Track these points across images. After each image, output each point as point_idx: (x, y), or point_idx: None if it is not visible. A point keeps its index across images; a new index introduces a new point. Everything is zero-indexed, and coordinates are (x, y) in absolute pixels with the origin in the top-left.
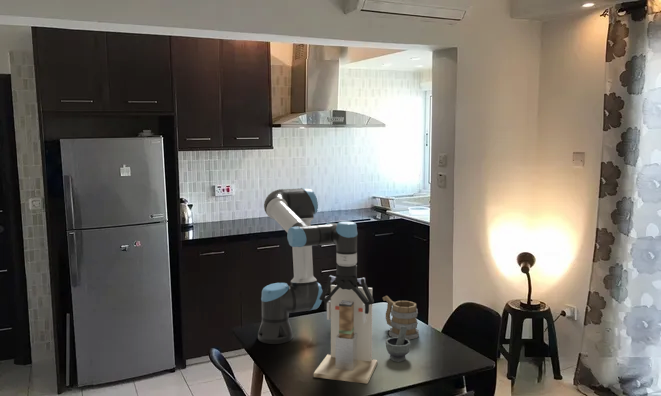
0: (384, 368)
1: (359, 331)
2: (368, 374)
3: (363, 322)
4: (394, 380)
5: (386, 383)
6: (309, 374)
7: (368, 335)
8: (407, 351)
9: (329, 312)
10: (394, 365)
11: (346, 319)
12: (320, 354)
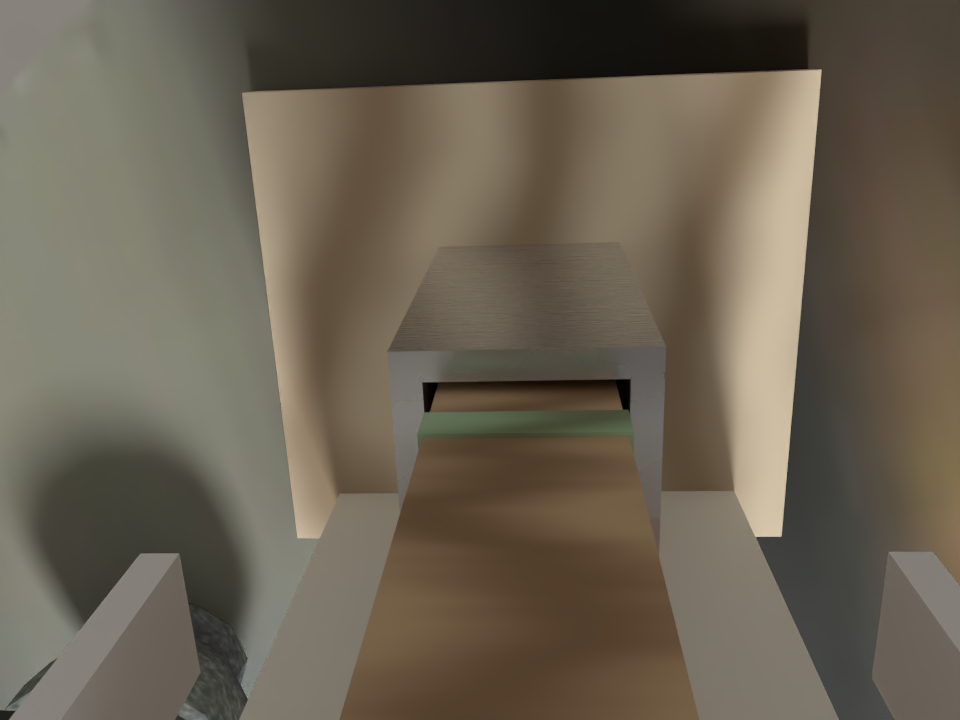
0: (219, 448)
1: None
2: (271, 214)
3: (156, 558)
4: (56, 239)
5: (98, 155)
6: (864, 116)
7: (303, 654)
8: None
9: (946, 691)
10: (161, 526)
11: (488, 541)
12: (855, 575)
